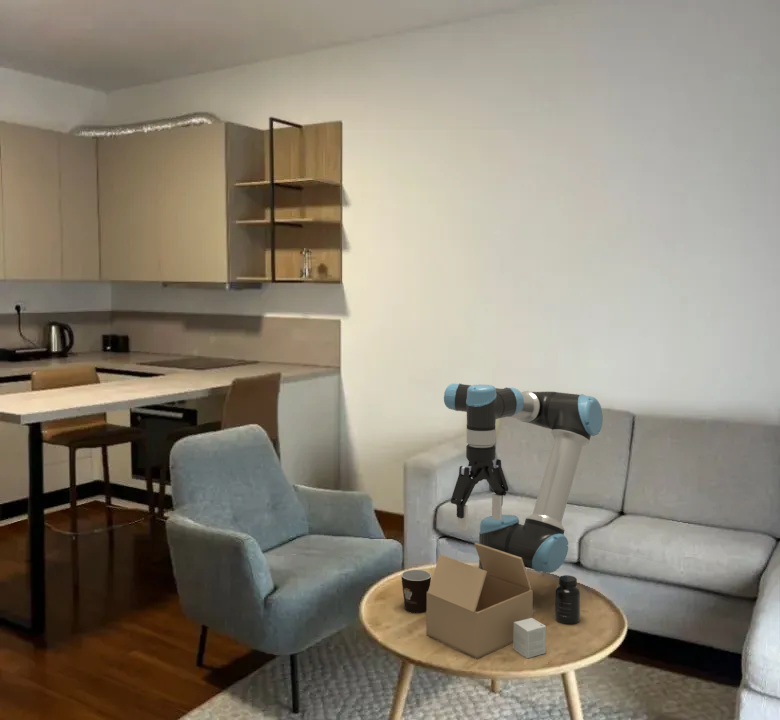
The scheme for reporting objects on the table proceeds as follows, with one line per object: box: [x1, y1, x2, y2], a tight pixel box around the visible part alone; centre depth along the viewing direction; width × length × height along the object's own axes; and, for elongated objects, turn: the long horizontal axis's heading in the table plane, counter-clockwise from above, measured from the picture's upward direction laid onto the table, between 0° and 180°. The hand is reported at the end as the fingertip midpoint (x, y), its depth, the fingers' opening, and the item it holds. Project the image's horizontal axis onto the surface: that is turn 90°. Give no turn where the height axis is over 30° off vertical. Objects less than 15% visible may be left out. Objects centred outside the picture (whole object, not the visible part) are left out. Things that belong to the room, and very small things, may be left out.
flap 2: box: [474, 542, 532, 590], centre depth 219 cm, size 10×16×1 cm
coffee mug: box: [400, 569, 432, 614], centre depth 229 cm, size 12×9×10 cm
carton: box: [425, 574, 534, 660], centre depth 214 cm, size 22×18×12 cm
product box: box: [512, 617, 547, 659], centre depth 205 cm, size 6×6×7 cm
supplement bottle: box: [554, 574, 581, 625], centre depth 223 cm, size 7×7×12 cm
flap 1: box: [428, 554, 487, 612], centre depth 207 cm, size 10×16×1 cm
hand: (480, 524), depth 211 cm, fingers open, 13 cm apart
